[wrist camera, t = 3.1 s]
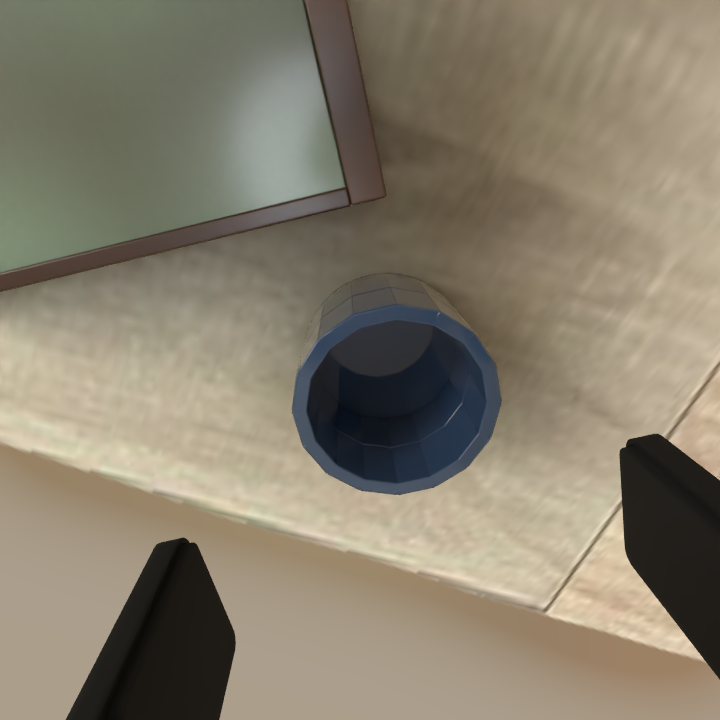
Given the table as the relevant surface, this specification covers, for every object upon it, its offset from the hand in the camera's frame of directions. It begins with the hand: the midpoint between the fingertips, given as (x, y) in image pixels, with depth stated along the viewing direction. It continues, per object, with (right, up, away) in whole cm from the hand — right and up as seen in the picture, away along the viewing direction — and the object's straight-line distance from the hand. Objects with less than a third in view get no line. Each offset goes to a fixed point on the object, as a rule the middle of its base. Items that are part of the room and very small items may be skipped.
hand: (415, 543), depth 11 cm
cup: (0, +4, +11) cm, 11 cm away
